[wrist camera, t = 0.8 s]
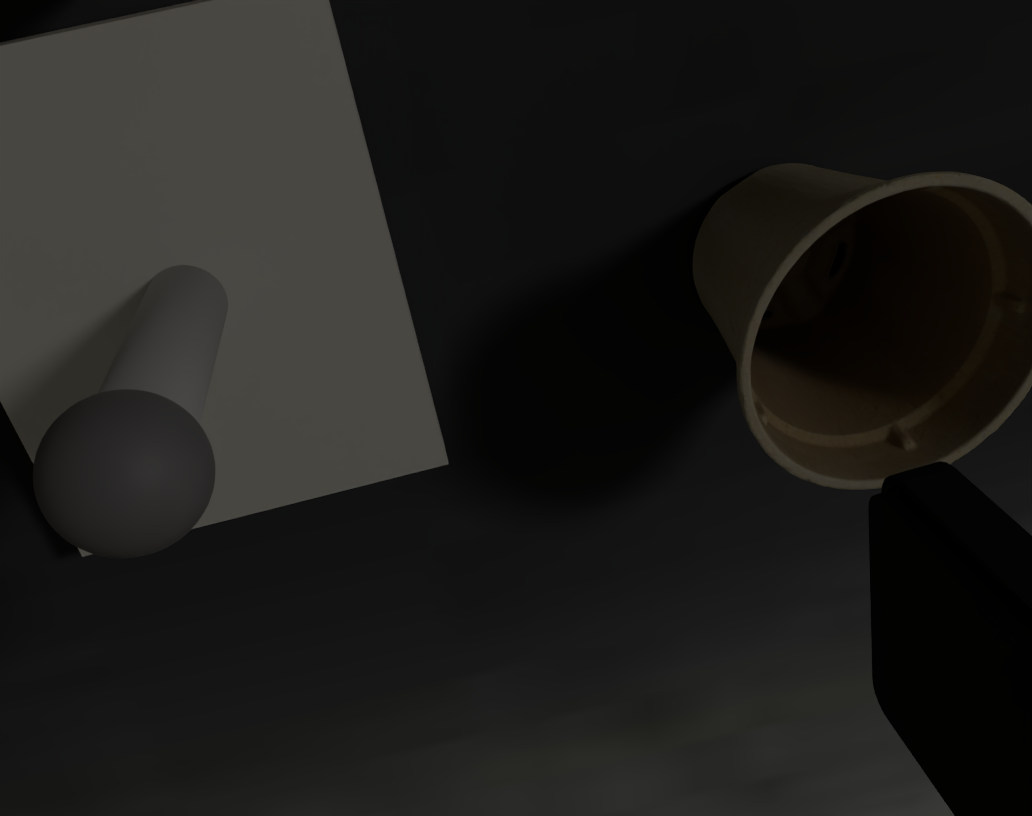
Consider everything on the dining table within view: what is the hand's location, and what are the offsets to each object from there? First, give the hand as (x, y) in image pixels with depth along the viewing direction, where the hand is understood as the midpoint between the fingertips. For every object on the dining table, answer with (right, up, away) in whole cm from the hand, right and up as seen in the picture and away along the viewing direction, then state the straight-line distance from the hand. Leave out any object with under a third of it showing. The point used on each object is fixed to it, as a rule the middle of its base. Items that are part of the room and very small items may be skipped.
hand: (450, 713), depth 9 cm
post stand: (-10, +7, +21) cm, 24 cm away
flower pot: (+10, +9, +24) cm, 27 cm away
